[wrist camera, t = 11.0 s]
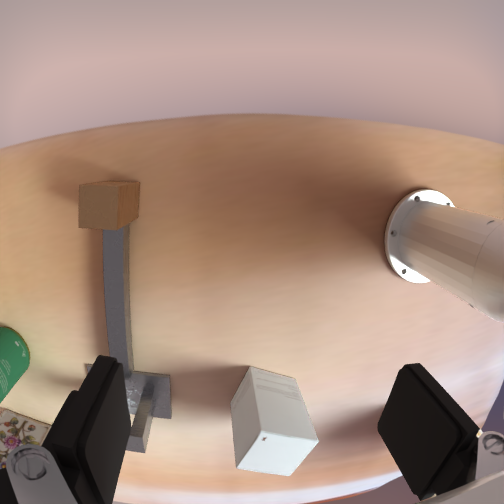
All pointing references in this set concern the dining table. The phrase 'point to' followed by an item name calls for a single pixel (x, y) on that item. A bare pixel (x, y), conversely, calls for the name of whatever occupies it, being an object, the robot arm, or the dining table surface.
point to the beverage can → (11, 359)
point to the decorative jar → (19, 433)
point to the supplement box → (270, 424)
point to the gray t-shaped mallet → (113, 256)
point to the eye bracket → (145, 405)
